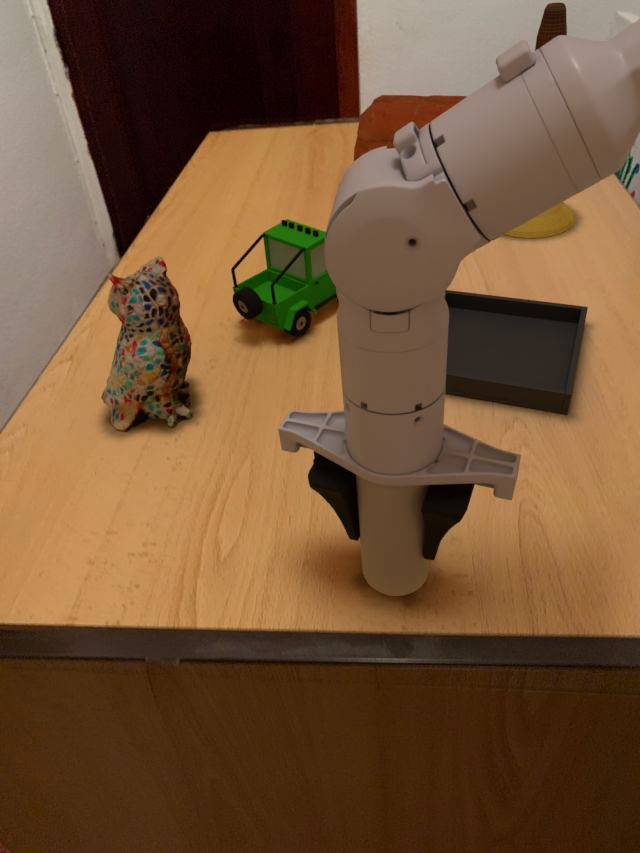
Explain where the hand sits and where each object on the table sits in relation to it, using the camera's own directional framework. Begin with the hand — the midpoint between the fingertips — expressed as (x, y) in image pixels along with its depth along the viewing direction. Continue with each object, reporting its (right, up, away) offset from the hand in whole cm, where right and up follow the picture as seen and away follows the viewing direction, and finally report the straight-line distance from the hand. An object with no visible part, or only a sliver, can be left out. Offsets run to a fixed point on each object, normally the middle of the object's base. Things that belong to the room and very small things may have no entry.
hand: (395, 538), depth 45 cm
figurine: (-21, +10, +20) cm, 31 cm away
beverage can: (0, -3, +3) cm, 4 cm away
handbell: (+23, +36, +45) cm, 62 cm away
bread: (+14, +49, +60) cm, 79 cm away
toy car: (-7, +21, +31) cm, 38 cm away
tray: (+13, +15, +22) cm, 29 cm away
